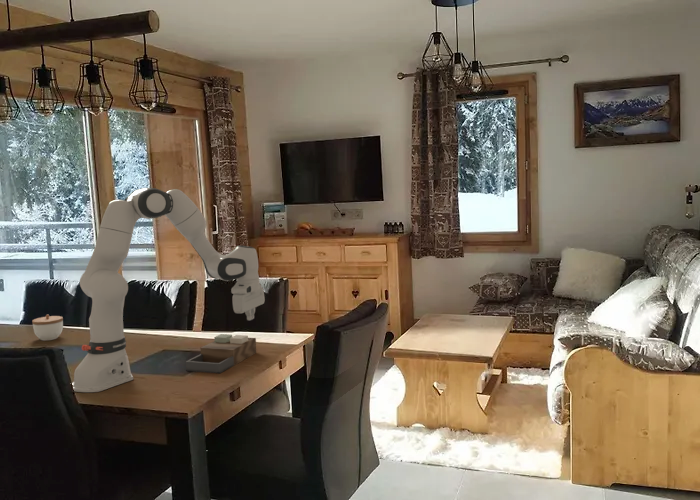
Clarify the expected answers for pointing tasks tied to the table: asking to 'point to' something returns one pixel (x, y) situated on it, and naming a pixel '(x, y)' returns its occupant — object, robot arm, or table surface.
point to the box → (208, 365)
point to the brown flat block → (228, 351)
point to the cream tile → (239, 339)
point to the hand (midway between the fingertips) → (250, 319)
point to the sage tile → (222, 338)
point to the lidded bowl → (48, 327)
